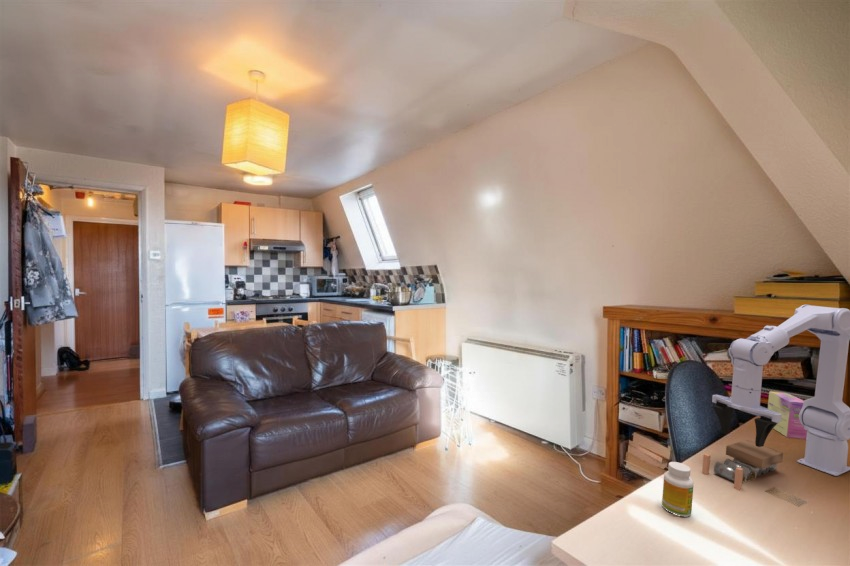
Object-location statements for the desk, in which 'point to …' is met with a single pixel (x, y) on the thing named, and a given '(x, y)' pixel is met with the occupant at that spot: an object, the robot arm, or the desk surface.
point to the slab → (754, 454)
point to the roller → (746, 470)
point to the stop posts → (737, 472)
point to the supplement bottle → (678, 489)
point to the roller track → (729, 474)
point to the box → (787, 414)
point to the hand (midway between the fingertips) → (742, 439)
